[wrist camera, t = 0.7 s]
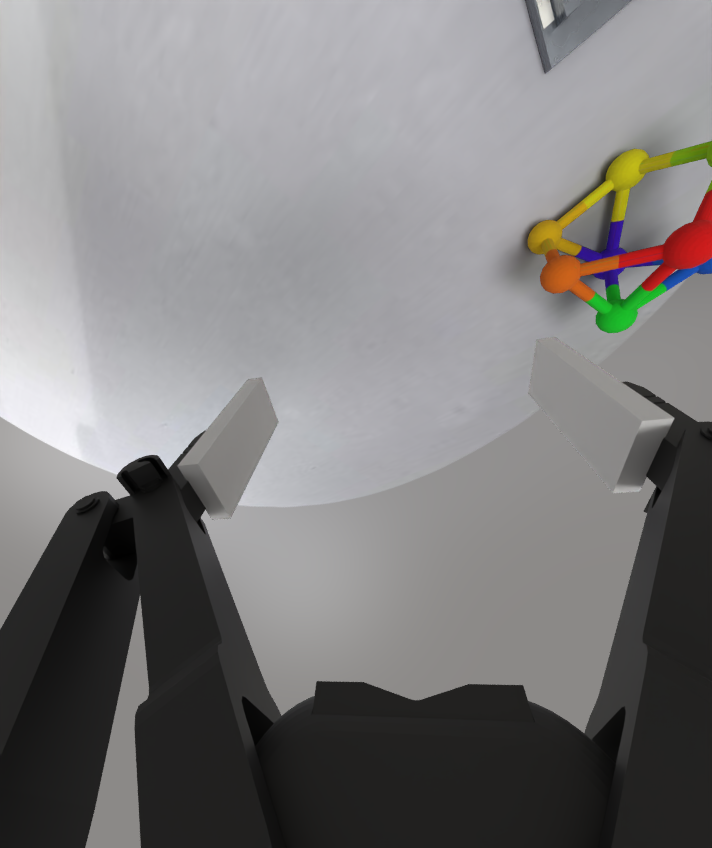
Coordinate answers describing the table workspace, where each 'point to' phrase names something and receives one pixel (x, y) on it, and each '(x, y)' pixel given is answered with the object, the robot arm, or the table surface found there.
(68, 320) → the table surface
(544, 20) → the base
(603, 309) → the educational toy
